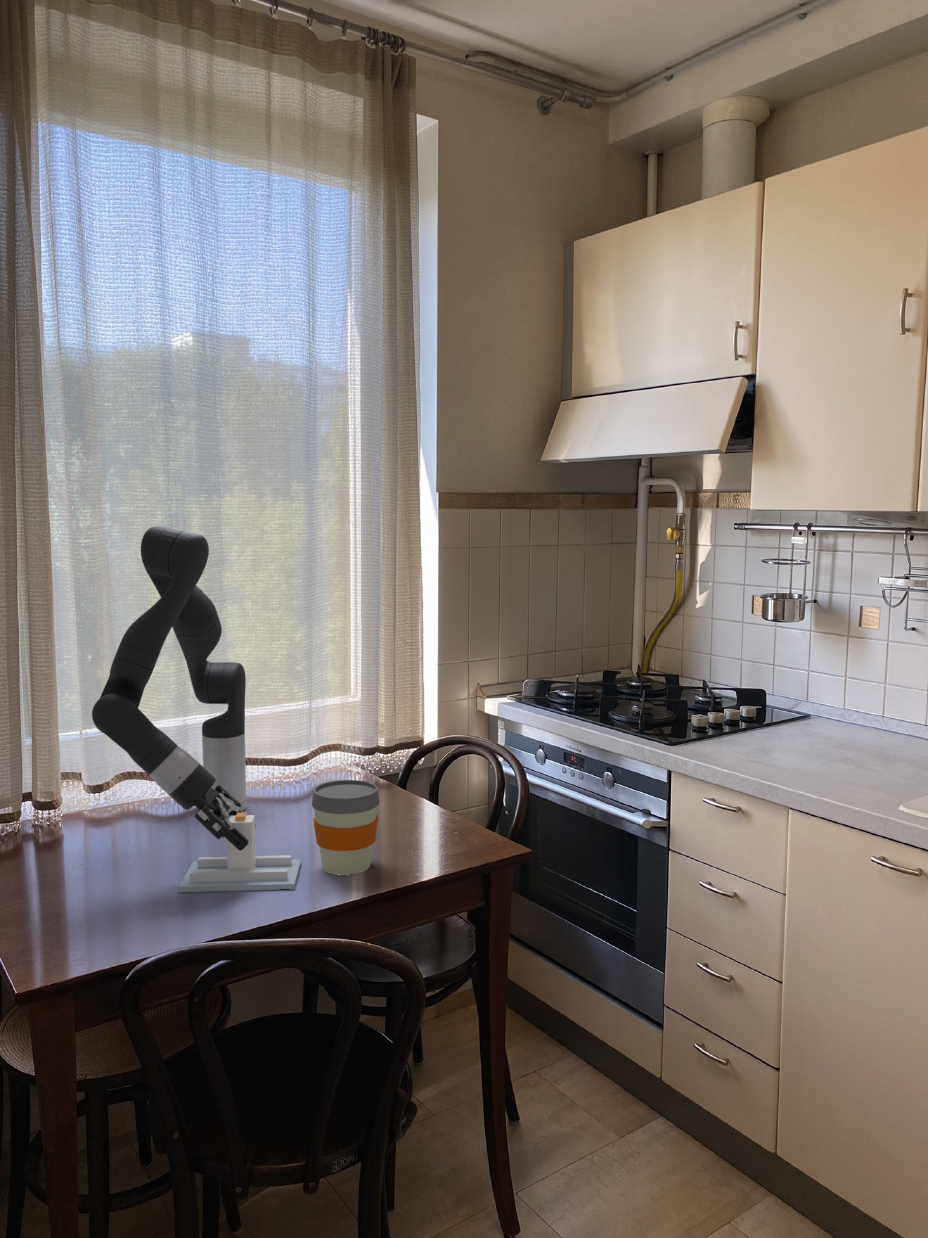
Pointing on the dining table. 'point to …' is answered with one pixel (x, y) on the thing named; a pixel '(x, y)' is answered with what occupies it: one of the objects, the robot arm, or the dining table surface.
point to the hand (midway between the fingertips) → (248, 838)
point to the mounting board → (241, 875)
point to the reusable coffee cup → (345, 824)
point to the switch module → (248, 854)
